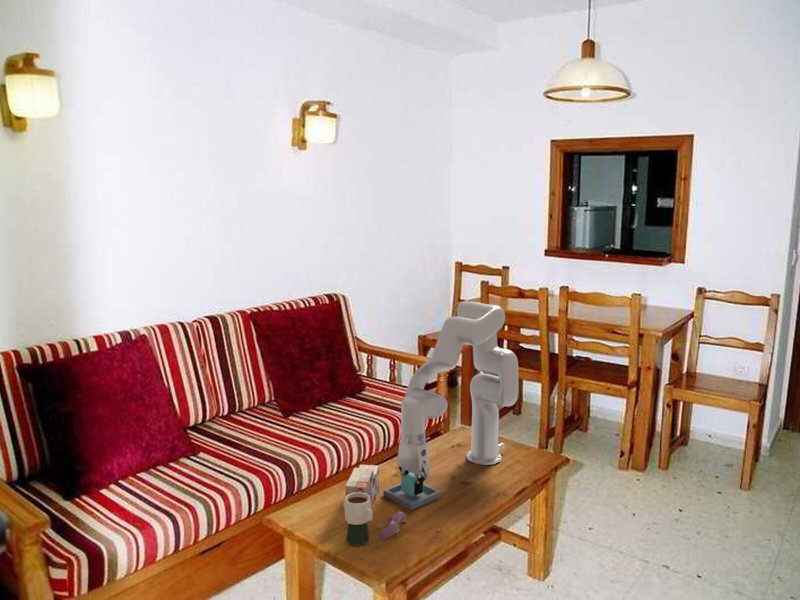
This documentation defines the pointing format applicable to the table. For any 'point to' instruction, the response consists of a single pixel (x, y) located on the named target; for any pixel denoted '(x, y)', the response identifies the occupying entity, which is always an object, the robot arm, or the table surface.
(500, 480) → the table surface
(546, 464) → the table surface
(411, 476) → the cube
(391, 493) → the tray
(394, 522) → the purple elongated lump
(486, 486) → the table surface
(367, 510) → the character mug
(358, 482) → the stack of blocks
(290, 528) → the table surface
